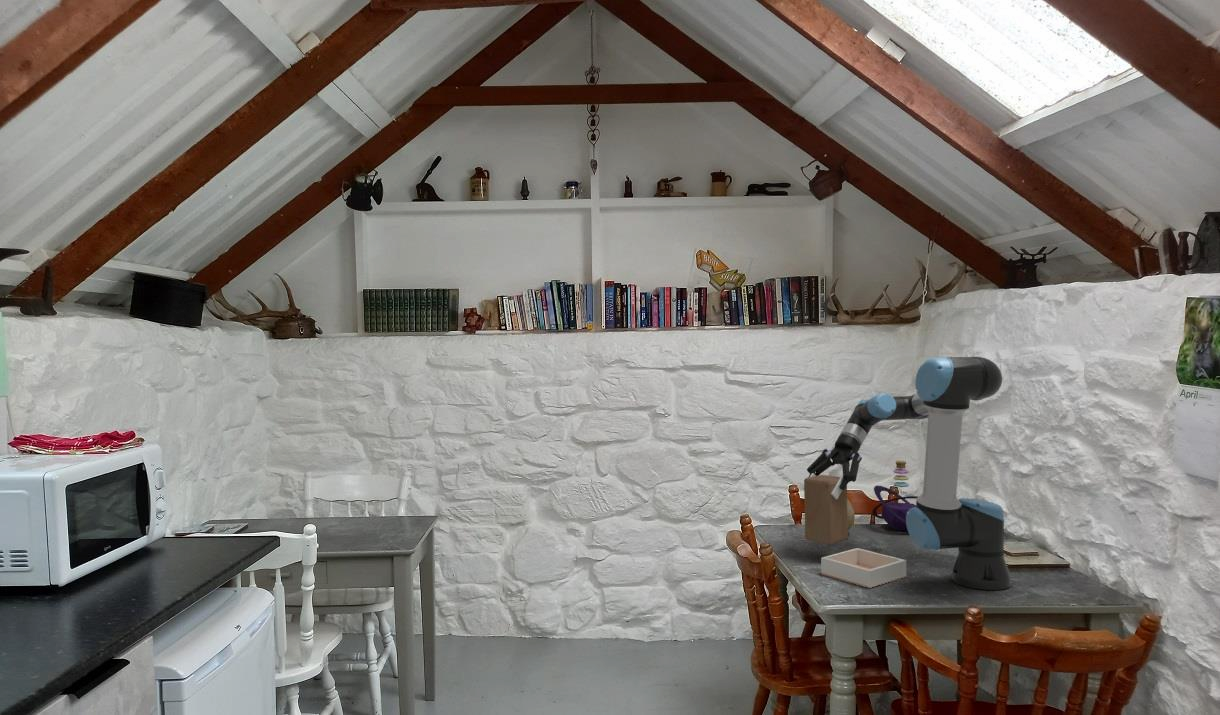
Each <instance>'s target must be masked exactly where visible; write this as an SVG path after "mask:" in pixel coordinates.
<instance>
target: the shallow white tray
mask: <svg viewBox="0 0 1220 715" xmlns="http://www.w3.org/2000/svg"><path fill="white" fill-rule="evenodd" d="M820 561H821V562H820V564H821V566H820V567H821V569H820V572H821V575H822V576H825V577H829V578H833V579H836V580H838V579H839V581H842V582H846V583H850V584H852V583H854V584H853V585H855V584H856V585H855V586H859V585H860V586H859V587H862V586H863V587H862V588H865V587H868V588H867V589H869V588H872V587H875V586H878V585H881V586H883V585H882V584H884V585H886V584H885V583H887V584H889V583H888V582H890V583H892V582H891V581H893V582H896V581H895V580H897V579H900V580H902V579H901V578H903V579H905V578H904V577H906V578H907V560H906V559H903V558H900V557H899V558H898V557H895V556H892V555H887V554H883V553H880V552H879V553H878V552H875V551H871V550H868V549H862V548H859V547H857V548H853V549H848V550H844V551H842V552H838V553H834V554H830V555H826V556H823V557H821V558H820ZM897 581H898V580H897ZM878 587H879V586H878ZM875 588H876V587H875ZM872 589H873V588H872Z"/></svg>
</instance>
